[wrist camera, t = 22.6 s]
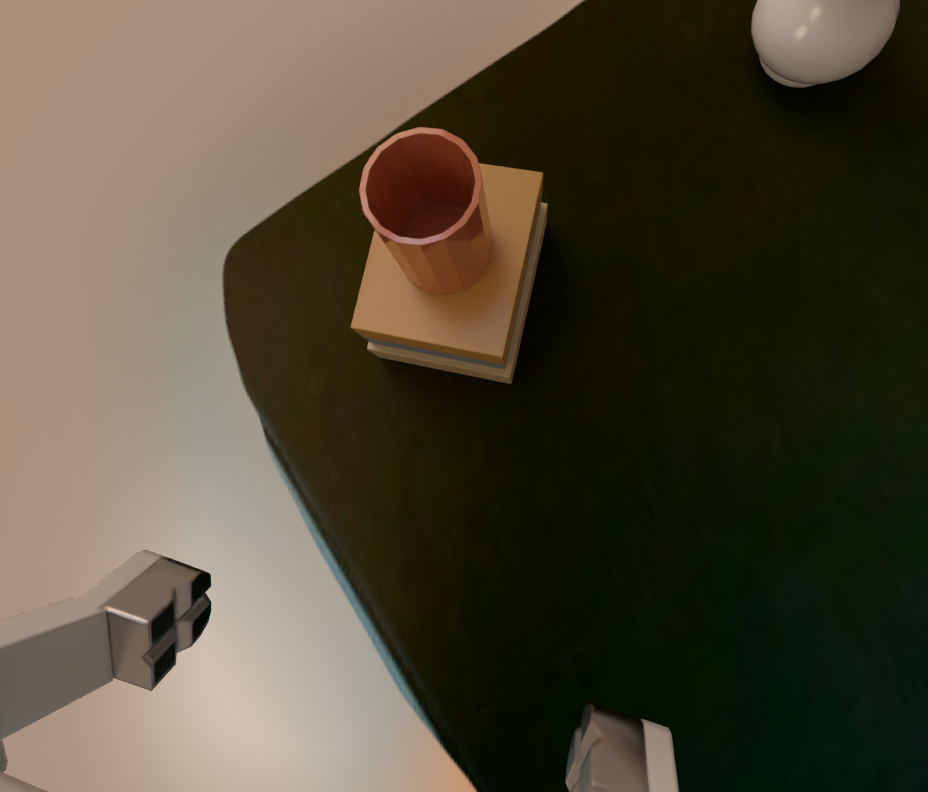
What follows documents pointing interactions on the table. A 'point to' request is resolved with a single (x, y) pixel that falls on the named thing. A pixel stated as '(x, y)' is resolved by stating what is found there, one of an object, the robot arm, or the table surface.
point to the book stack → (462, 292)
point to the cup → (429, 208)
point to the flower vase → (820, 37)
